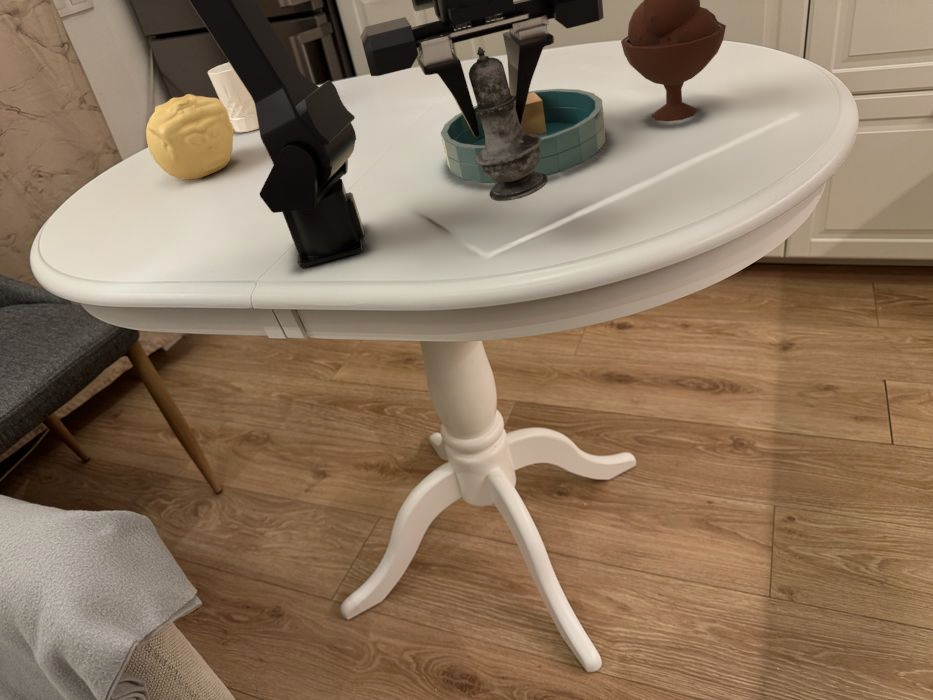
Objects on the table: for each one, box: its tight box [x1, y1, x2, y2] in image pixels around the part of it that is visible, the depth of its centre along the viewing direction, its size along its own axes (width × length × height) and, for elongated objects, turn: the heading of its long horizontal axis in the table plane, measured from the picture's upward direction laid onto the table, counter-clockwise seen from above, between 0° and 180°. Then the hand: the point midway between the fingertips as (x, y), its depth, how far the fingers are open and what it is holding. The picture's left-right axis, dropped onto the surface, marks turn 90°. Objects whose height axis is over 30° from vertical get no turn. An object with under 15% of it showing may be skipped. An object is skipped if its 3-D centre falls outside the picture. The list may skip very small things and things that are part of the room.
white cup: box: [207, 61, 259, 133], centre depth 116 cm, size 8×8×10 cm
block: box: [521, 92, 547, 135], centre depth 85 cm, size 4×4×4 cm
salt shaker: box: [468, 46, 549, 202], centre depth 58 cm, size 6×6×12 cm
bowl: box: [440, 88, 606, 184], centre depth 81 cm, size 19×19×4 cm
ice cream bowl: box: [620, 0, 727, 123], centre depth 77 cm, size 11×11×15 cm
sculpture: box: [145, 93, 235, 180], centre depth 100 cm, size 12×12×11 cm
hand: (497, 130), depth 60 cm, fingers closed on salt shaker, 3 cm apart
